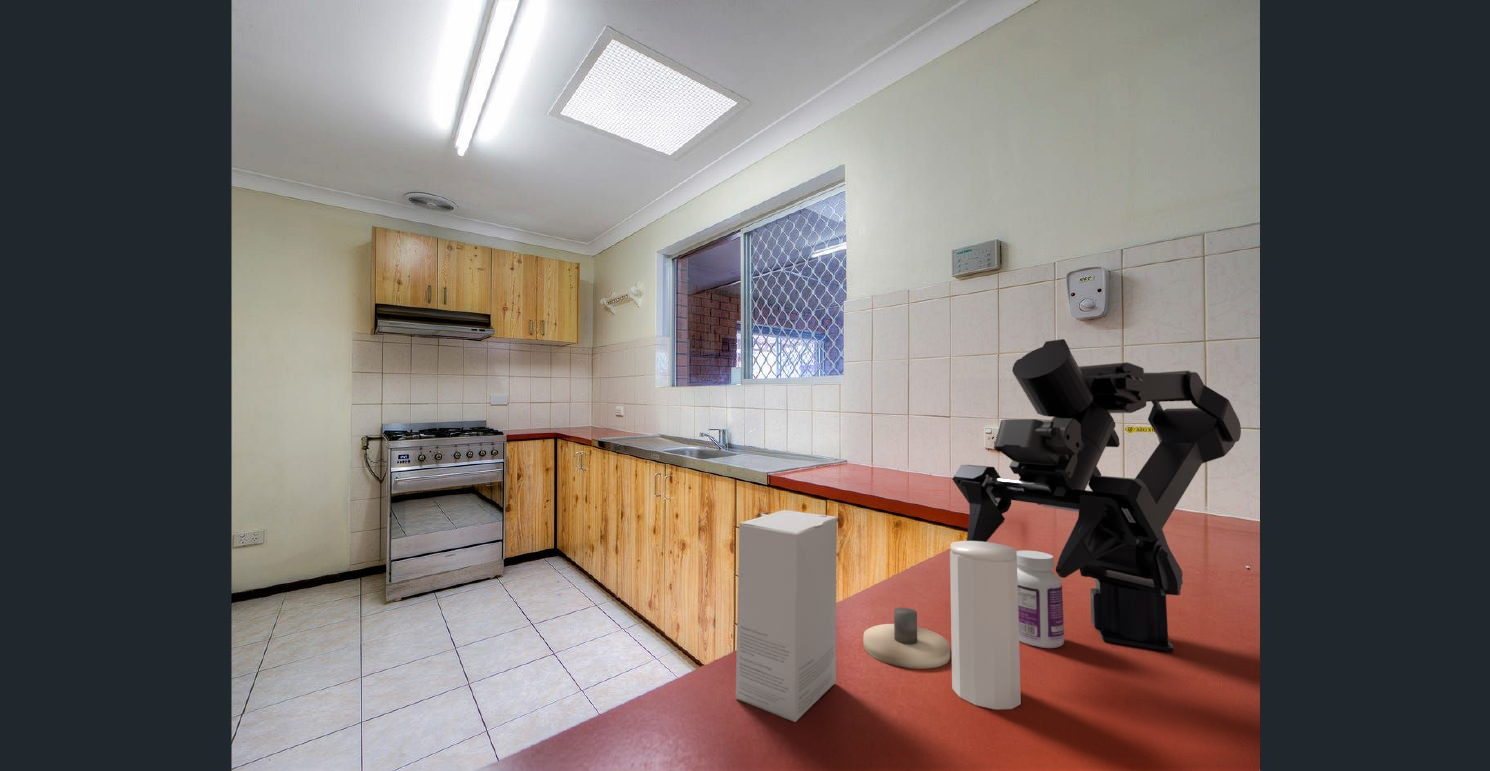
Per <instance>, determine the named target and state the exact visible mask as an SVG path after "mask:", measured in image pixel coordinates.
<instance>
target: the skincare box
mask: <svg viewBox="0 0 1490 771" xmlns="http://www.w3.org/2000/svg"><path fill="white" fill-rule="evenodd" d="M837 535H838V517H837V516H833V515H825V514H819V513H818V514H817V513H809V512H803V511H802V512H801V511H794V510H787V509H783V510H778V511H776V512H772V513H770V514H767V515H763V516H759V517H755V518H752V519H749V520H744V521H741V522H739V523H738V568H737V569H738V570H737V571H738V572H737V573H738V574H737V575H738V576H737V577H738V578H737V613H736V614H737V617H736V618H737V619H736V620H737V622H736V627H737V628H736V663H735V664H736V666H735V672H736V673H735V699H736V700H738V701H740V702H744V703H746V704H749V705H751V706H753V707H756V708H757V709H761V710H764V711H765V712H768V713H771V714H772V715H776V716H779V717H781V718H783V719H786V720H789V721H791V722H793V723H796V722H798V720H799V719H800V718H801V717H803V715H804V714H805V713H806V712H807V711H808V710H809V709H811V708H812V707H813V705H814V704H816V702H817V701H819V700H820V699H821V697H822V696H824V695H825V693H827V692H828V691H829V690H830V689H831V688H832V687H833V686H834V685H835V684H836V682H837V679H836V678H837V675H836V674H837V672H836V670H837V669H836V668H837V666H836V664H837V661H836V660H837V654H836V653H837V650H836V649H837V636H836V635H837V557H838V556H837V555H838V554H837V553H838V552H837V549H838V548H837V547H838V546H837V545H838V541H837V540H838V536H837Z"/></svg>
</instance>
